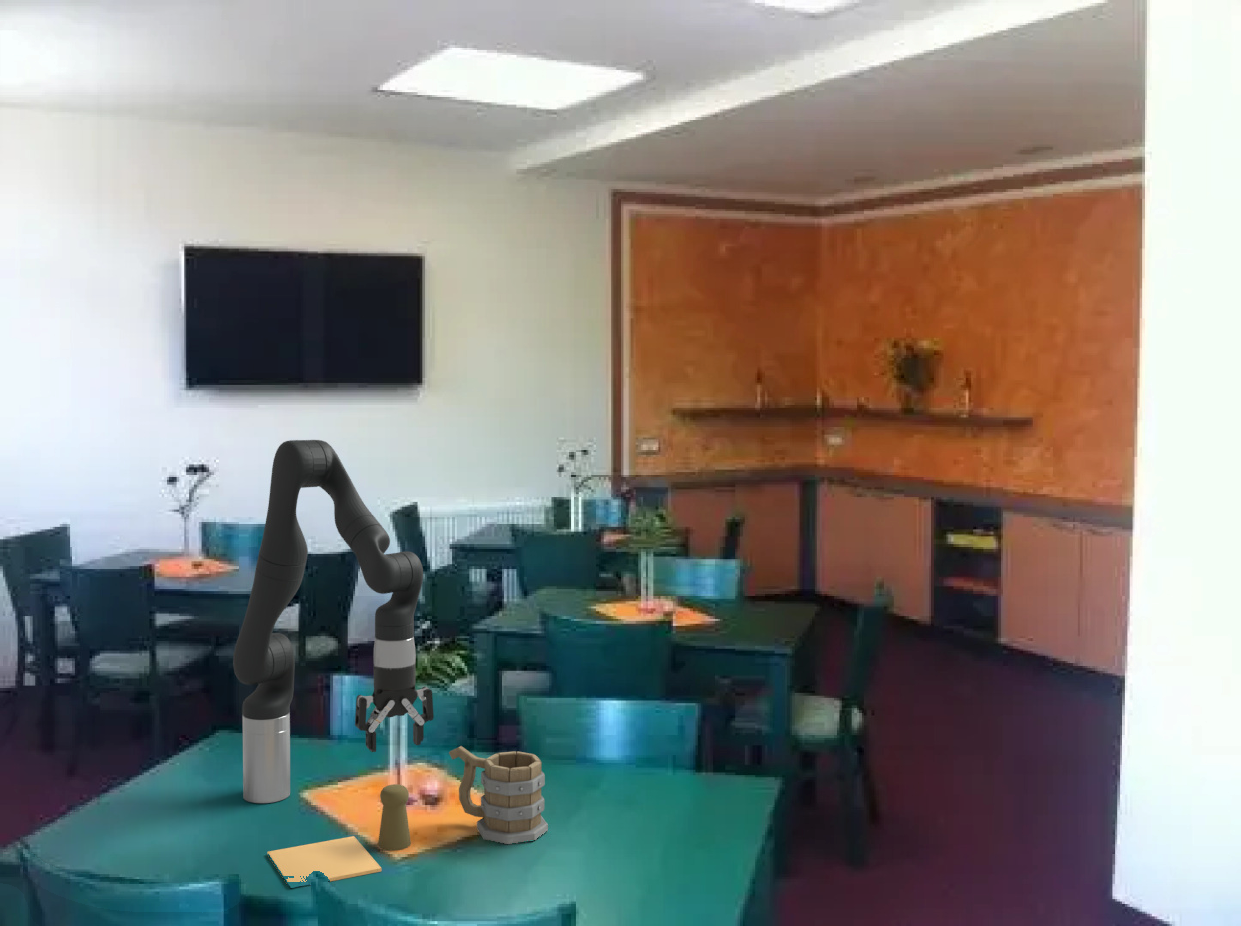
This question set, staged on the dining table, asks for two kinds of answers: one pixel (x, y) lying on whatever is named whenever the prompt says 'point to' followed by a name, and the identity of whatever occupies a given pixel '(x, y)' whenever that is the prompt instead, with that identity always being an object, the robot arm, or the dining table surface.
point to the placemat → (325, 860)
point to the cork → (394, 818)
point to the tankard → (505, 795)
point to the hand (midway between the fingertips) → (394, 747)
